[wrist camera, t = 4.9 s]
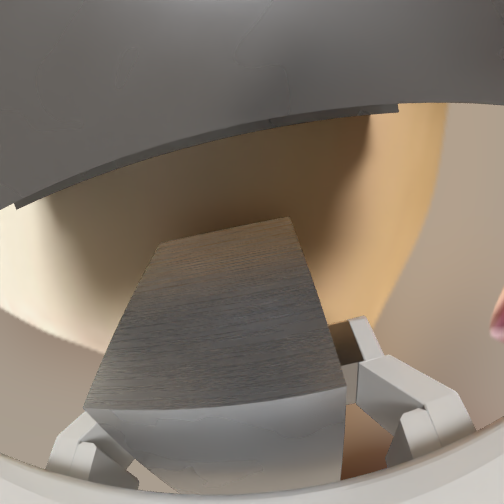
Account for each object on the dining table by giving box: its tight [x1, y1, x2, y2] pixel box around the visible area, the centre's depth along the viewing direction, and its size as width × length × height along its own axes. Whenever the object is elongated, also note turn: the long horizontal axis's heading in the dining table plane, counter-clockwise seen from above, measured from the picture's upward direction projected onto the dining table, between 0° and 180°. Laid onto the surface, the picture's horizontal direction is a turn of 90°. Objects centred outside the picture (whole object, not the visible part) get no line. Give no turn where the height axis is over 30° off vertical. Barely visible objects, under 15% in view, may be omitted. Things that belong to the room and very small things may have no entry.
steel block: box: [83, 216, 347, 495], centre depth 8 cm, size 4×6×6 cm, turn 12°
